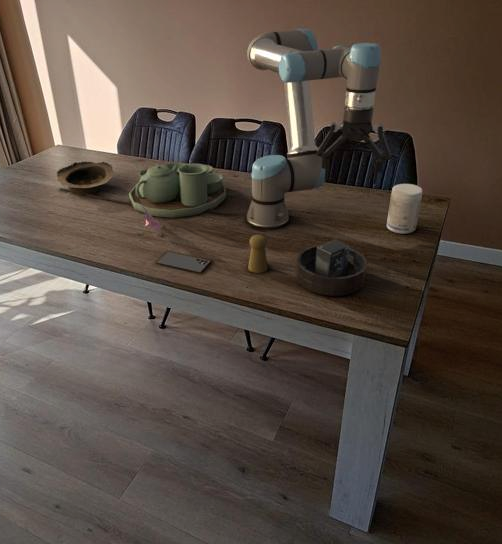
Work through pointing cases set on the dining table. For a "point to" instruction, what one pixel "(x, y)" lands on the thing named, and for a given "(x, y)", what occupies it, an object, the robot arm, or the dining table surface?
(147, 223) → the lily
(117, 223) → the dining table surface
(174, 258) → the smartphone
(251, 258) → the cork
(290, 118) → the robot arm
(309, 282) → the bowl
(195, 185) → the tea set
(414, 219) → the supplement tub
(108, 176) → the stone bowl
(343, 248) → the box
